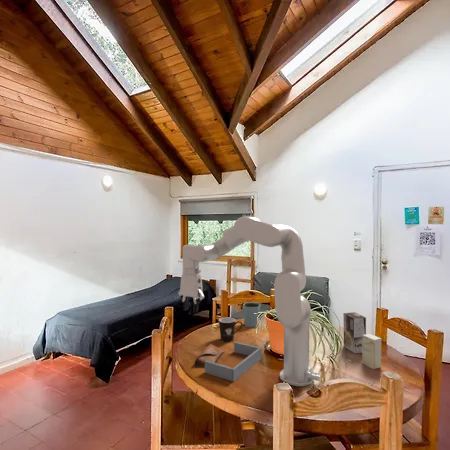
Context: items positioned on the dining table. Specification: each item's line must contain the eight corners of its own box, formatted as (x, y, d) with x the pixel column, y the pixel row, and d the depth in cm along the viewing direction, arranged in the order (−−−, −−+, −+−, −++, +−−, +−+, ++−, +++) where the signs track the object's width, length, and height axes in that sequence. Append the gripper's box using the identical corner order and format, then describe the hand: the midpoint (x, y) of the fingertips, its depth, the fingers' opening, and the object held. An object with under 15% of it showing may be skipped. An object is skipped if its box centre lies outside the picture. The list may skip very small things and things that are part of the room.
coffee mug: (217, 341, 155) (216, 322, 155) (220, 335, 163) (220, 316, 163) (239, 343, 152) (239, 323, 152) (242, 337, 161) (242, 318, 160)
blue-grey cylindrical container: (253, 321, 187) (253, 301, 187) (264, 326, 179) (263, 305, 178) (239, 324, 182) (239, 303, 182) (249, 329, 173) (249, 307, 173)
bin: (261, 358, 136) (261, 347, 136) (233, 381, 116) (233, 369, 116) (235, 351, 143) (235, 341, 143) (204, 372, 123) (204, 361, 123)
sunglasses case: (214, 368, 126) (206, 353, 127) (200, 375, 128) (192, 360, 129) (225, 350, 144) (218, 337, 145) (213, 357, 145) (206, 344, 146)
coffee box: (366, 352, 141) (366, 317, 141) (353, 353, 140) (353, 318, 140) (355, 344, 150) (355, 311, 150) (343, 345, 149) (343, 312, 149)
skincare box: (361, 363, 131) (361, 334, 131) (369, 361, 133) (369, 333, 133) (374, 369, 125) (374, 339, 125) (381, 367, 127) (381, 338, 127)
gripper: (210, 271, 140) (210, 311, 140) (181, 269, 149) (182, 306, 149) (200, 274, 134) (200, 316, 134) (171, 271, 143) (171, 310, 143)
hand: (191, 310), depth 142 cm, fingers open, 4 cm apart
